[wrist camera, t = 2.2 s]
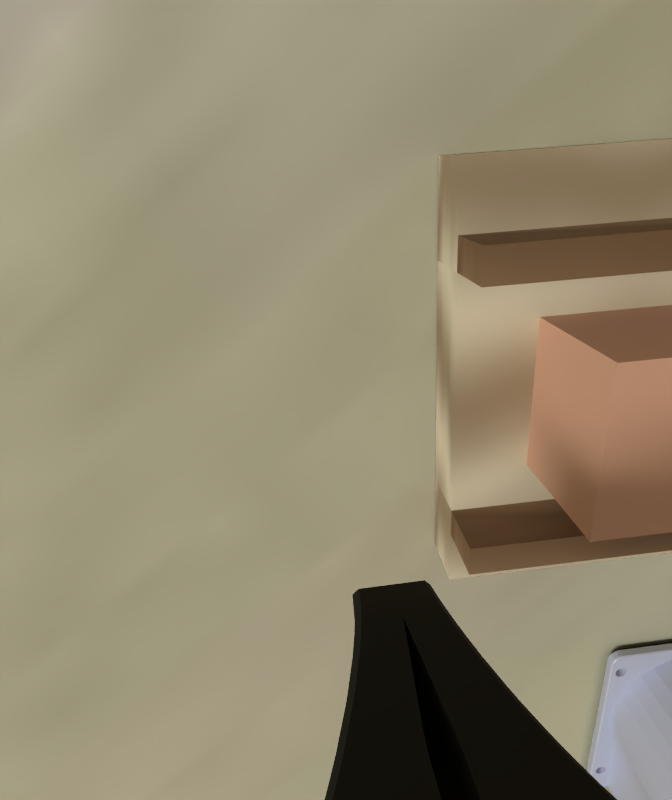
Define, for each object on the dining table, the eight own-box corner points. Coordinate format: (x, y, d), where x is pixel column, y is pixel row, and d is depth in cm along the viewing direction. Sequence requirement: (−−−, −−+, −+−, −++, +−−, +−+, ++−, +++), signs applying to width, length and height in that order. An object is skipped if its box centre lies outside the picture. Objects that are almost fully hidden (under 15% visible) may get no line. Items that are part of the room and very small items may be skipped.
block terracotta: (671, 448, 18) (770, 520, 14) (526, 464, 18) (590, 542, 14) (702, 301, 16) (826, 342, 12) (539, 316, 16) (617, 362, 12)
